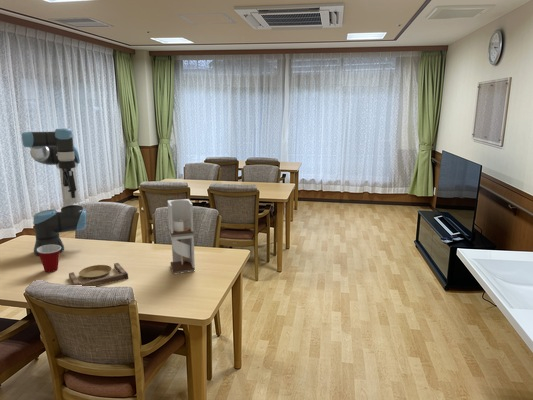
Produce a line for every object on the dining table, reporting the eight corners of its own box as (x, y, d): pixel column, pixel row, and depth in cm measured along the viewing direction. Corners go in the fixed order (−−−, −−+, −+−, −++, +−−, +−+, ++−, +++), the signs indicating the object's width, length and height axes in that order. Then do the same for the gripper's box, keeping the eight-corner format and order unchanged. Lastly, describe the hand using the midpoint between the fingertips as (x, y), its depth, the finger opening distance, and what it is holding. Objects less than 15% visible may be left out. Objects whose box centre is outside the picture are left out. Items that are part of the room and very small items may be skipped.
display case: (170, 265, 204) (167, 200, 196) (191, 263, 208) (188, 199, 200) (173, 274, 194) (170, 205, 186) (194, 271, 197) (192, 204, 189)
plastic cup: (50, 276, 190) (47, 252, 187) (34, 272, 194) (31, 249, 191) (68, 267, 200) (66, 245, 197) (52, 264, 204) (49, 242, 201)
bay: (69, 277, 188) (68, 273, 188) (118, 267, 201) (117, 262, 201) (76, 290, 175) (75, 285, 175) (128, 278, 188) (127, 273, 188)
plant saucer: (73, 281, 185) (72, 276, 185) (89, 269, 200) (88, 264, 199) (103, 282, 184) (103, 277, 184) (117, 270, 199) (116, 265, 198)
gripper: (53, 157, 203) (58, 197, 208) (62, 163, 183) (67, 207, 188) (69, 156, 207) (73, 195, 212) (80, 162, 188) (84, 205, 193)
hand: (70, 201), depth 200 cm, fingers open, 13 cm apart
